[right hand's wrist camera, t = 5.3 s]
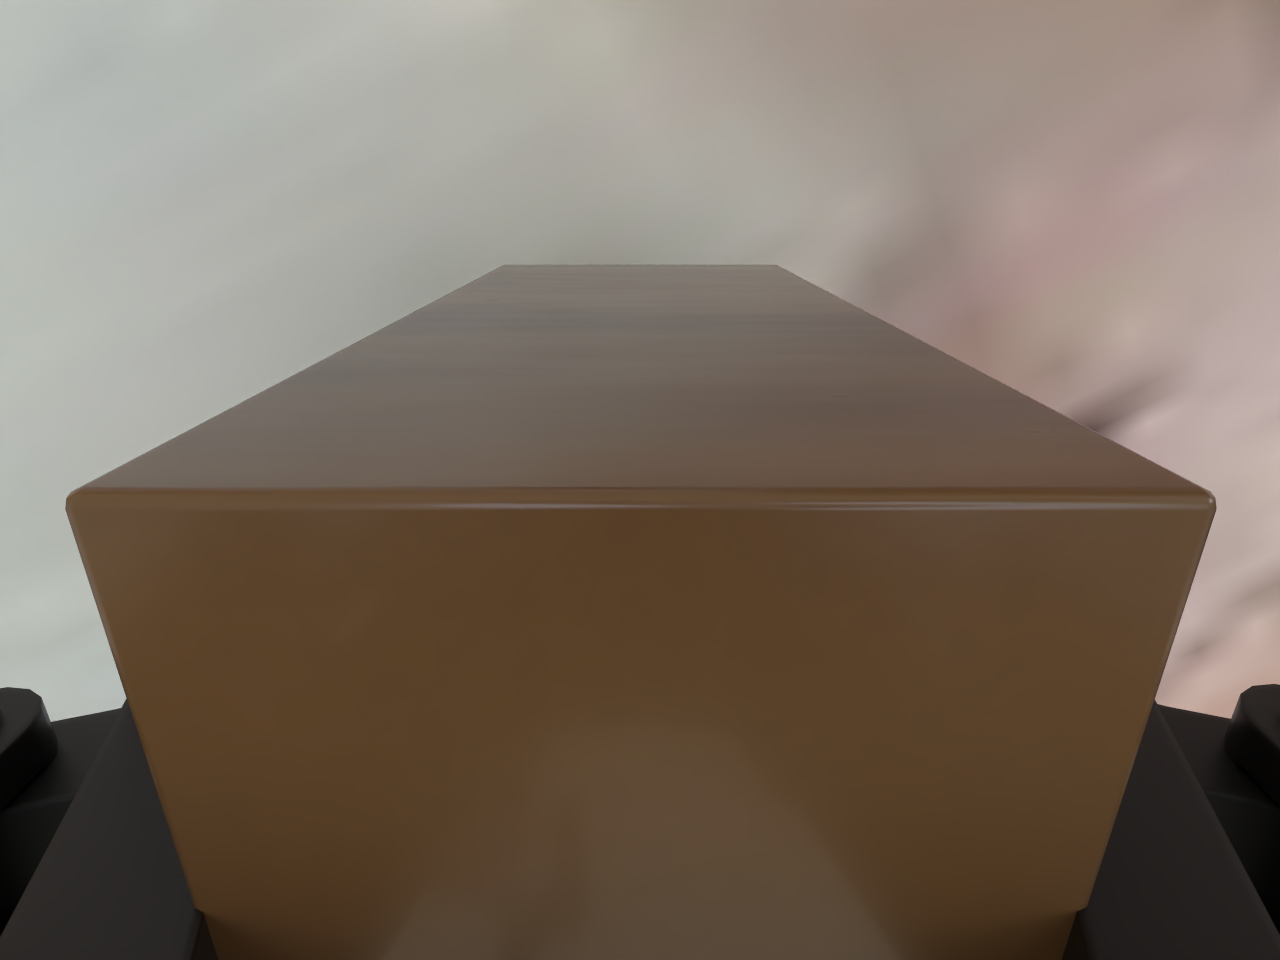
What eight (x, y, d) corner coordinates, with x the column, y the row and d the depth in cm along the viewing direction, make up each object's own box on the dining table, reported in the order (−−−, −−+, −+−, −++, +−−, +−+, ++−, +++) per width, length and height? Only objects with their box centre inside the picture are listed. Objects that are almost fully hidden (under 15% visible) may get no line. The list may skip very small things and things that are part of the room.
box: (501, 264, 16) (51, 493, 4) (779, 264, 16) (1229, 493, 4) (550, 989, 24) (465, 1751, 12) (729, 989, 24) (814, 1752, 12)
